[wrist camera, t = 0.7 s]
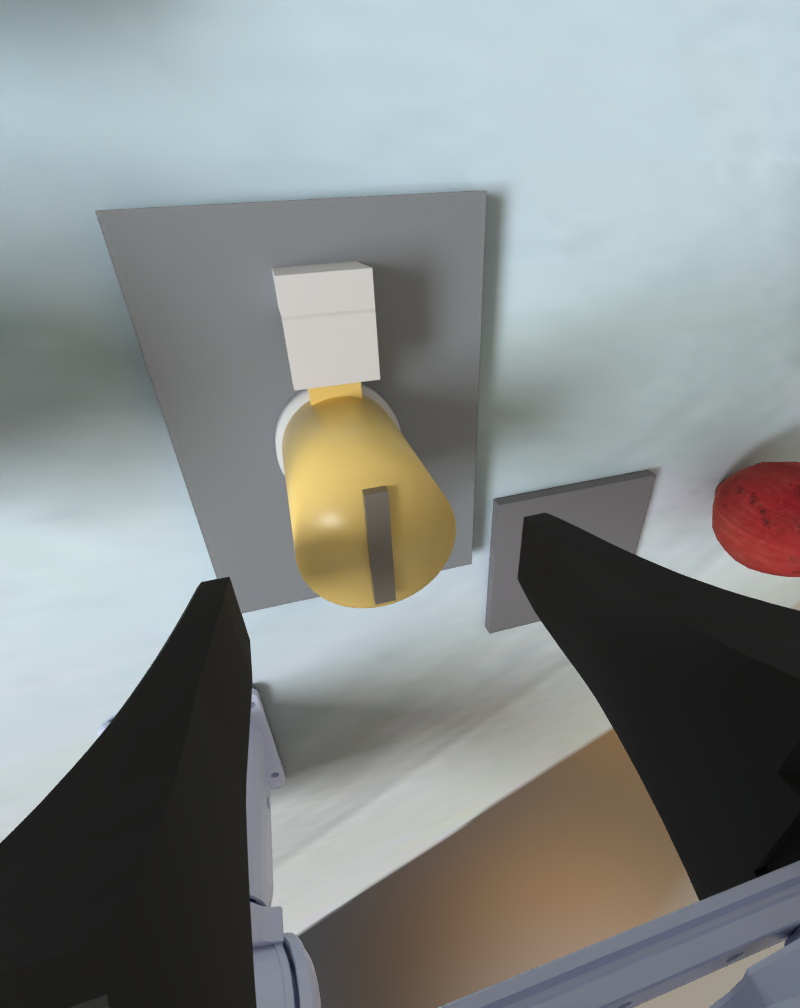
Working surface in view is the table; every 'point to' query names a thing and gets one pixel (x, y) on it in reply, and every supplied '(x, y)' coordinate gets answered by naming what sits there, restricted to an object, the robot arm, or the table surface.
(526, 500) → the mat
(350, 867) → the table surface
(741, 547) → the onion
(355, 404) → the yellow rounded piece
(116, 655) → the table surface
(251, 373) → the post base
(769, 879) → the robot arm
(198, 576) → the table surface
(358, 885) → the table surface
